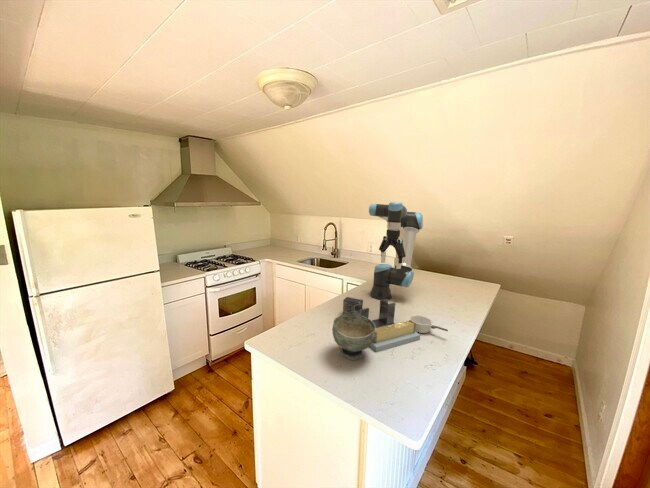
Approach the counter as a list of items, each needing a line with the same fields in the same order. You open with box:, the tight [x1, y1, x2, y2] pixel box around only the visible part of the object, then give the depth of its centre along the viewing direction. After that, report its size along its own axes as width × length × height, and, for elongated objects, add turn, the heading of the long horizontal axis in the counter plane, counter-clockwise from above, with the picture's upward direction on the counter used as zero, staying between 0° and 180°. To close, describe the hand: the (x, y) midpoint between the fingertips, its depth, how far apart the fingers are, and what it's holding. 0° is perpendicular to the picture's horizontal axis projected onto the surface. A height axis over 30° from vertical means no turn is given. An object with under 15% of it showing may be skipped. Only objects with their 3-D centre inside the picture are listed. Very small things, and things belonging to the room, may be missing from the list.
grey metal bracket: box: [353, 299, 396, 329], centre depth 151 cm, size 7×24×12 cm, turn 117°
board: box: [369, 331, 421, 353], centre depth 136 cm, size 10×28×2 cm, turn 117°
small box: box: [342, 296, 364, 315], centre depth 161 cm, size 11×6×10 cm, turn 65°
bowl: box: [331, 314, 376, 361], centre depth 122 cm, size 20×19×15 cm
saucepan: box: [409, 315, 449, 334], centre depth 146 cm, size 12×20×6 cm, turn 45°
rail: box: [373, 319, 416, 344], centre depth 135 cm, size 4×26×5 cm, turn 117°
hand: (390, 265), depth 157 cm, fingers open, 13 cm apart
